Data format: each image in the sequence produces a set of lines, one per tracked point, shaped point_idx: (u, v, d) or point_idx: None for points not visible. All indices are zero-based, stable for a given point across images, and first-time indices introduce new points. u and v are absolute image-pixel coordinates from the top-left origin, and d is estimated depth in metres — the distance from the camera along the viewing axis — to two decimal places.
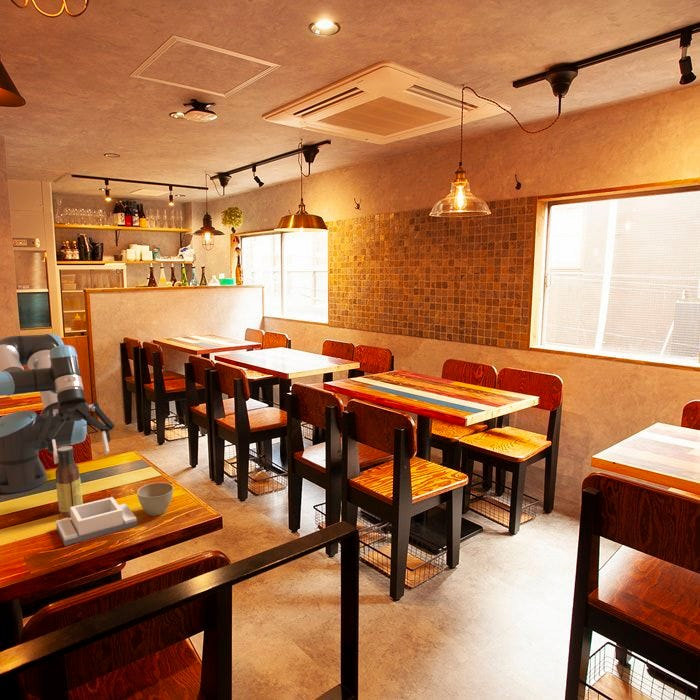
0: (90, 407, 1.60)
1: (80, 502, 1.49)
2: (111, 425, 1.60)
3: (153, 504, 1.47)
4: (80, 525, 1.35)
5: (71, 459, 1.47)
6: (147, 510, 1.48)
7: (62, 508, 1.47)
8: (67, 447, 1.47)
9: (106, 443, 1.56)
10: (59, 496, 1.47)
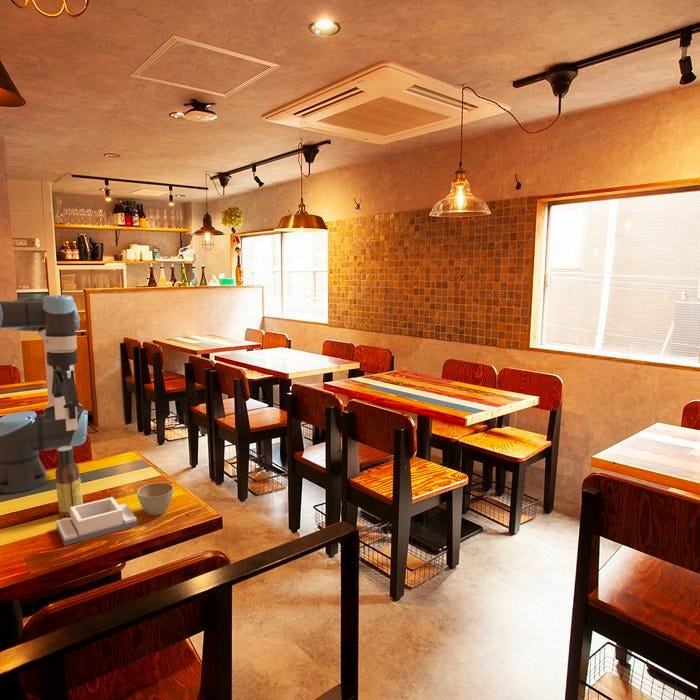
0: None
1: (80, 502, 1.49)
2: (67, 403, 1.38)
3: (153, 504, 1.47)
4: (80, 525, 1.35)
5: (71, 459, 1.47)
6: (147, 510, 1.48)
7: (62, 508, 1.47)
8: (67, 447, 1.47)
9: (66, 421, 1.40)
10: (59, 496, 1.47)
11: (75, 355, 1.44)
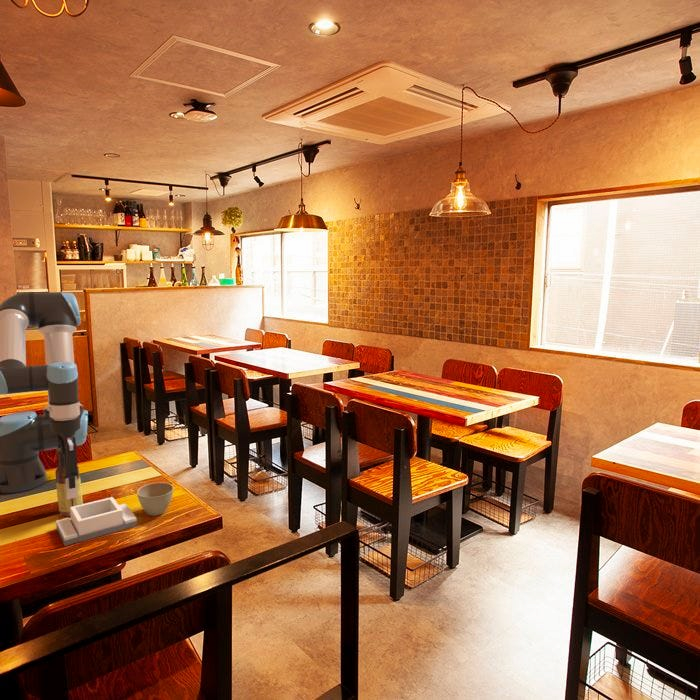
0: None
1: (80, 502, 1.49)
2: (67, 475, 1.43)
3: (153, 504, 1.47)
4: (80, 525, 1.35)
5: None
6: (147, 510, 1.48)
7: (62, 508, 1.47)
8: None
9: (66, 490, 1.45)
10: (59, 496, 1.47)
11: (78, 421, 1.46)
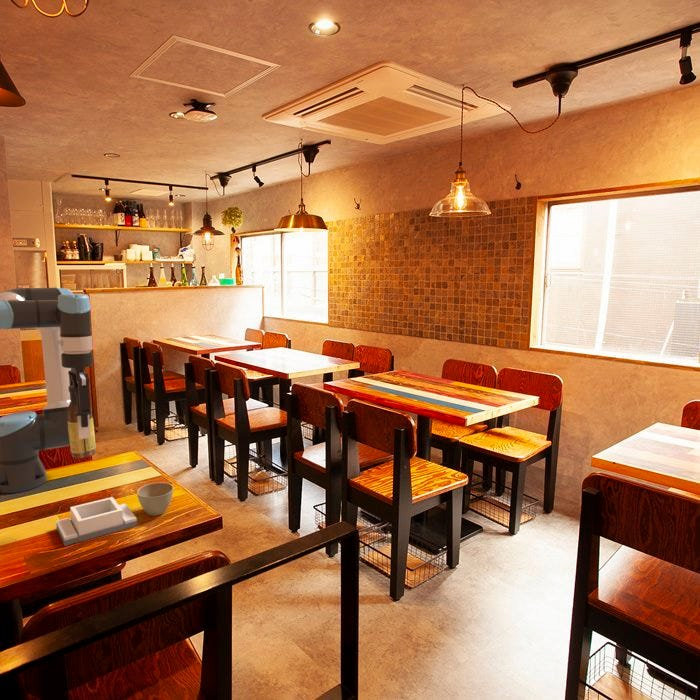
0: None
1: (93, 444, 1.41)
2: (79, 411, 1.34)
3: (153, 504, 1.47)
4: (80, 525, 1.35)
5: None
6: (147, 510, 1.48)
7: (74, 449, 1.38)
8: None
9: (78, 430, 1.37)
10: (71, 436, 1.38)
11: (90, 356, 1.38)
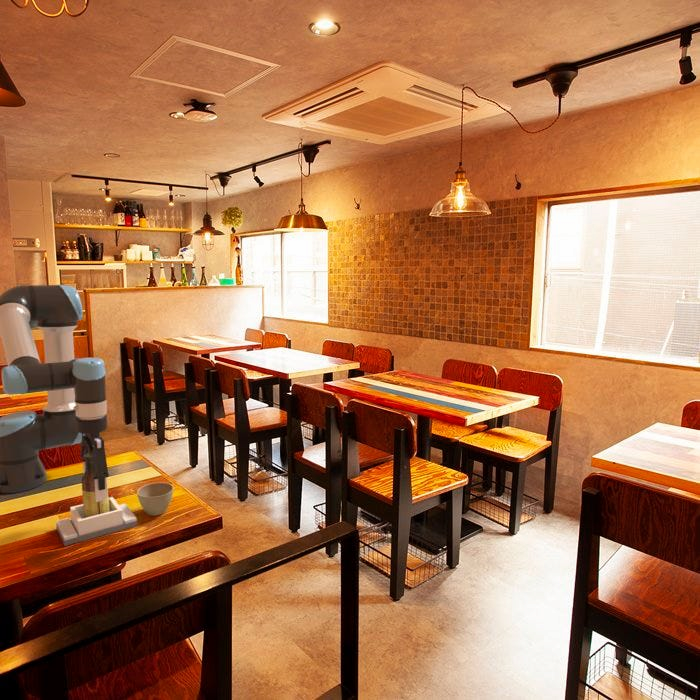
0: None
1: (107, 511, 1.42)
2: (97, 475, 1.32)
3: (153, 504, 1.47)
4: (80, 525, 1.35)
5: None
6: (147, 510, 1.48)
7: None
8: None
9: (95, 492, 1.35)
10: (85, 505, 1.39)
11: (105, 421, 1.37)
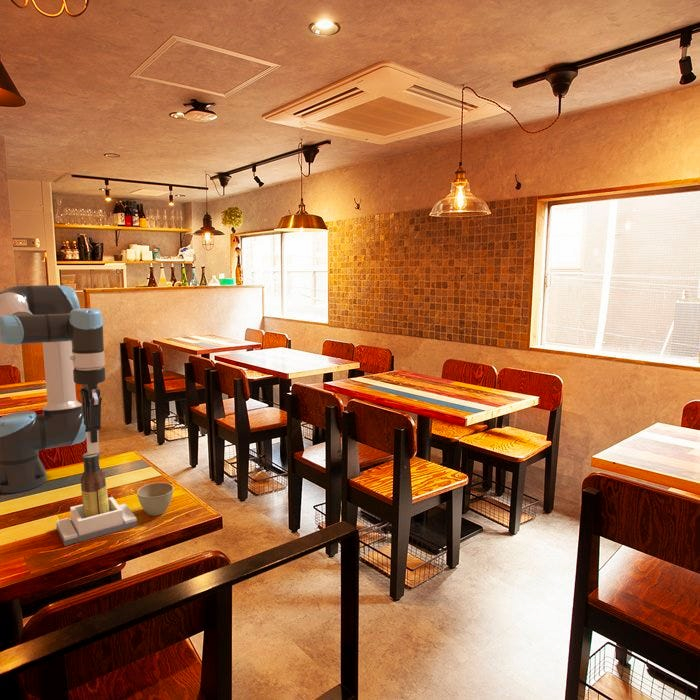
0: None
1: (107, 511, 1.41)
2: (89, 427, 1.35)
3: (153, 504, 1.47)
4: (80, 525, 1.35)
5: (97, 466, 1.39)
6: (147, 510, 1.48)
7: None
8: None
9: (87, 445, 1.37)
10: (85, 505, 1.39)
11: (103, 372, 1.35)
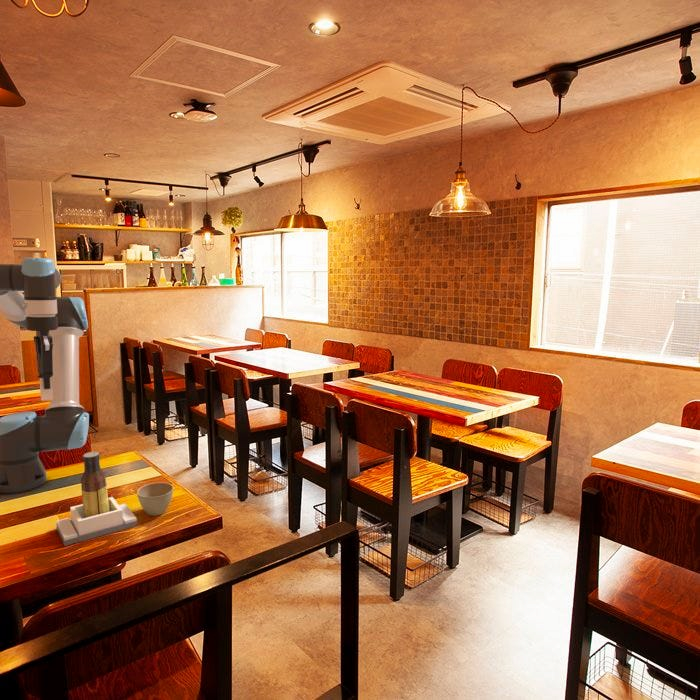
0: None
1: (107, 511, 1.41)
2: (41, 373, 1.39)
3: (153, 504, 1.47)
4: (80, 525, 1.35)
5: (97, 466, 1.39)
6: (147, 510, 1.48)
7: None
8: (93, 453, 1.39)
9: (41, 391, 1.41)
10: (85, 505, 1.39)
11: (55, 320, 1.39)
